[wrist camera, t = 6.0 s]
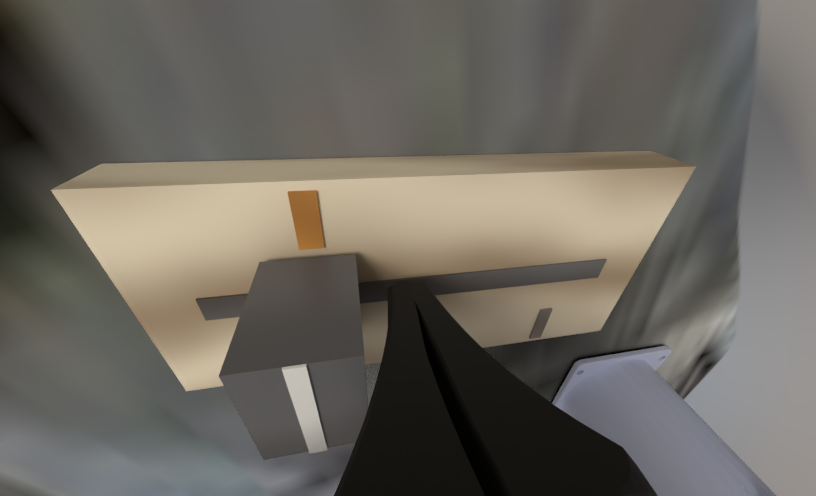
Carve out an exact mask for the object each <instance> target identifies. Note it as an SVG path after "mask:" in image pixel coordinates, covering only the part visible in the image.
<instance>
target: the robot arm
mask: <svg viewBox="0 0 816 496" xmlns="http://www.w3.org/2000/svg"><path fill="white" fill-rule="evenodd" d="M670 353H671V349H670V348H669V347H668V346H660V347H654V348H648V349H642V350H635V351H629V352H623V353H617V354H611V355H605V356H599V357H593V358H587V359H581V360H578V361H576V362H575V363H574V365H573V366H572V368H571V370H570V372H569V373H568V375H567V377H566V379H565V381H564V382H563V384H562V386H561V388H560V389H559V391H558V393H557V395H556V396H555V398H554V400H553V402H552V403H551V402H549V401H548V400H546V399H545V398H544V397H542V396H541V395H540V394H538V393H537V392H535V391H534V390H533V389H531V388H530V387H529V386H527V385H526V384H524V383H523V382H522V381H521V380H519V379H518V378H517V377H516V376H514V375H513V374H512V373H511V372H509V371H508V370H507V369H506V368H504V367H503V366H502V365H501V364H500V363H499V362H498V361H496V360H495V359H494V358H493V357H492V356H491V355H490V354H489V353H487V352H486V351H485V350H484V349H483V348H482V347H481V346H480V345H479V344H478V343H477V342H476V341H475V340H474V339H473V338H472V337H471V336H470V335H469V334H468V333H467V332H466V331H465V330H464V329H463V328H462V327H461V326H460V324H459V323H458V322H457V321H456V320H455V319H454V318H453V317H452V316H451V314H450V313H449V312H448V311H447V310H446V309H445V307H444V306H443V305H442V304H441V303H440V301H439V300H438V299H437V298H436V296H435V295H434V294H433V292H432V291H431V290H430V289H429V287H428V286H427V285H426V284H425V283H414V284H404V285H394V286H390V287H389V288H388V330H387V337H386V342H385V347H384V352H383V357H382V361H381V366H380V370H379V373H378V377H377V381H376V384H375V388H374V391H373V394H372V398H371V401H370V404H369V407H368V410H367V413H366V416H365V419H364V422H363V425H362V427H361V430H360V433H359V435H358V438H357V441H356V443H355V446H354V449H353V451H352V454H351V457H350V459H349V462H348V464H347V467H346V469H345V471H344V474H343V476H342V478H341V481H340V483H339V485H338V488H337V490H336V492H335V495H334V496H776V495H775V494H774V493H773V492H772V491H771V490H770V489H769V488H768V487H767V486H766V484H765V483H764V482H763V481H762V480H761V479H760V478H759V477H758V476H757V475H756V474H755V473H754V472H753V471H752V470H751V469H750V468H749V467H748V466H747V465H746V464H745V463H744V462H743V461H742V460H741V459H740V458H739V457H738V456H737V455H736V454H735V452H734V451H733V450H731V448H730V447H729V446H728V445H727V444H726V443H725V442H724V441H723V440H722V439H721V438H720V437H719V436H718V435H717V434H716V433H715V432H714V431H713V430H712V429H711V428H710V427H709V426H708V425H707V424H706V423H705V422H704V421H703V420H702V418H700V417H699V415H698V414H697V413H696V412H695V411H694V410H693V409H692V408H691V407H690V406H689V405H688V404H687V403H686V402H685V401H684V400H683V399H682V398H681V397H680V396H679V395H678V394H677V393H676V392H675V391H674V390H673V389H672V388H671V386H670V385H669V384H668V383H667V382H666V381H665V380H664V379H663V378H662V377H661V376H660V375H659V374H658V373H657V372H656V370H657V369H658V368H659V366H660V365H661V364H662V363H663V362H664V360H665V359H666V358H667V357H668V356H669V354H670Z"/></svg>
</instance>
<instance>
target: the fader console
mask: <svg viewBox="0 0 816 496" xmlns="http://www.w3.org/2000/svg"><path fill="white" fill-rule="evenodd" d="M695 168H696V166H693V165H690V164H687V163H684V162H681V161H678V160H676V159H673V158H670V157H667V156H664V155H661V154H658V153H655V152H652V151H623V152H580V153H538V154H496V155H453V156H411V157H369V158H326V159H284V160H242V161H200V162H157V163H115V164H100V165H98V166H96V167H94V168H92V169H91V170H89V171H87V172H85V173H83V174H81V175H79V176H77V177H75V178H73V179H71V180H69V181H67V182H65V183H63V184H61V185H59V186H57V187H55V188H53V189H51V191H52V192H53V194H54V195H55V197H56V198H57V200H58V201H59V203H60V204H61V206H62V207H63V209H64V210H65V212H66V213H67V215H68V216H69V218H70V219H71V221H72V222H73V224H74V225H75V227H76V228H77V230H78V231H79V233H80V234H81V236H82V237H83V238H84V240H85V241H86V243H87V244H88V246H89V247H90V249H91V250H92V252H93V253H94V255H95V256H96V258H97V259H98V261H99V262H100V264H101V265H102V267H103V268H104V270H105V271H106V273H107V274H108V276H109V277H110V279H111V280H112V281H113V283H114V284H115V286H116V287H117V289H118V290H119V292H120V293H121V295H122V296H123V298H124V299H125V301H126V302H127V304H128V305H129V307H130V308H131V310H132V311H133V313H134V314H135V316H136V317H137V319H138V320H139V322H140V323H141V325H142V326H143V327H144V329H145V330H146V332H147V333H148V335H149V336H150V338H151V339H152V341H153V342H154V344H155V345H156V347H157V348H158V350H159V351H160V353H161V354H162V356H163V357H164V359H165V360H166V362H167V363H168V365H169V366H170V368H171V369H172V370H173V372H174V373H175V375H176V376H177V378H178V379H179V381H180V382H181V384H182V385H183V387H184V388H185V390H186V391H191V390H198V389H204V388H211V387H218V386H224V385H223V383H222V382H221V380H220V378H219V374H220V371H221V368H222V365H223V363H224V360H225V357H226V354H227V351H228V349H229V346H230V343H231V340H232V337H233V335H234V332H235V329H236V326H237V323H238V321H239V318H240V315H241V312H242V309H243V307H244V304H245V301H246V298H247V295H248V293H249V290H250V287H251V284H252V281H253V279H254V276H255V273H256V270H257V267H258V265H259V262H264V261H277V260H289V259H302V258H314V257H327V256H339V255H352V254H356V264H357V275H358V287H359V299H360V310H361V322H362V334H363V345H364V357H365V365H369V364H375V363H381V361H382V357H383V352H384V347H385V342H386V337H387V330H388V288H389V287H390V286H394V285H404V284H414V283H425V284H426V285H427V286H428V287H429V289H430V290H431V291H432V292H433V294H434V295H435V296H436V298H437V299H438V300H439V301H440V303H441V304H442V305H443V306H444V307H445V309H446V310H447V311H448V312H449V313H450V314H451V316H452V317H453V318H454V319H455V320H456V321H457V322H458V323H459V324H460V326H461V327H462V328H463V329H464V330H465V331H466V332H467V333H468V334H469V335H470V336H471V337H472V338H473V339H474V340H475V341H476V342H477V343H478V344H479V345H480V346H481V347H482V348H485V347H492V346H498V345H505V344H512V343H519V342H526V341H533V340H540V339H546V338H553V337H560V336H567V335H574V334H581V333H587V332H594V331H600V330H601V328H602V327H603V325H604V323H605V321H606V320H607V318H608V316H609V315H610V313H611V311H612V309H613V308H614V306H615V304H616V303H617V301H618V299H619V298H620V296H621V294H622V292H623V291H624V289H625V287H626V286H627V284H628V282H629V280H630V279H631V277H632V275H633V274H634V272H635V270H636V268H637V267H638V265H639V263H640V262H641V260H642V258H643V257H644V255H645V253H646V251H647V250H648V248H649V246H650V245H651V243H652V241H653V239H654V238H655V236H656V234H657V233H658V231H659V229H660V228H661V226H662V224H663V222H664V221H665V219H666V217H667V216H668V214H669V212H670V210H671V209H672V207H673V205H674V204H675V202H676V200H677V198H678V197H679V195H680V193H681V192H682V190H683V188H684V187H685V185H686V183H687V181H688V180H689V178H690V176H691V175H692V173H693V171H694V169H695Z"/></svg>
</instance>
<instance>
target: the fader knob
mask: <svg viewBox="0 0 816 496" xmlns="http://www.w3.org/2000/svg"><path fill="white" fill-rule="evenodd" d="M219 378H220V380H221V382H222V383H223V385H224V387H225V389H226V391H227V393H228V395H229V396H230V398H231V400H232V402H233V404H234V406H235V407H236V409H237V411H238V413H239V415H240V417H241V419H242V420H243V422H244V424H245V426H246V428H247V430H248V432H249V433H250V435H251V437H252V439H253V441H254V443H255V445H256V446H257V448H258V450H259V452H260V454H261V456H262V457H263V459H264V460H265V459H270V458H276V457H281V456H286V455H291V454H297V453H302V452H307V451H309V453H316V452H321V451H326V450H328V447H333V446H338V445H344V444H349V443H354V442H356V441H357V438H358V435H359V433H360V430H361V427H362V425H363V422H364V419H365V416H366V413H367V410H368V398H367V385H366V371H365V357H364V345H363V334H362V322H361V310H360V299H359V287H358V275H357V264H356V254H352V255H339V256H327V257H314V258H302V259H289V260H277V261H264V262H259V265H258V267H257V270H256V273H255V276H254V279H253V281H252V284H251V287H250V290H249V293H248V295H247V298H246V301H245V304H244V307H243V309H242V312H241V315H240V318H239V321H238V323H237V326H236V329H235V332H234V335H233V337H232V340H231V343H230V346H229V349H228V351H227V354H226V357H225V360H224V363H223V365H222V368H221V371H220V374H219Z"/></svg>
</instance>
